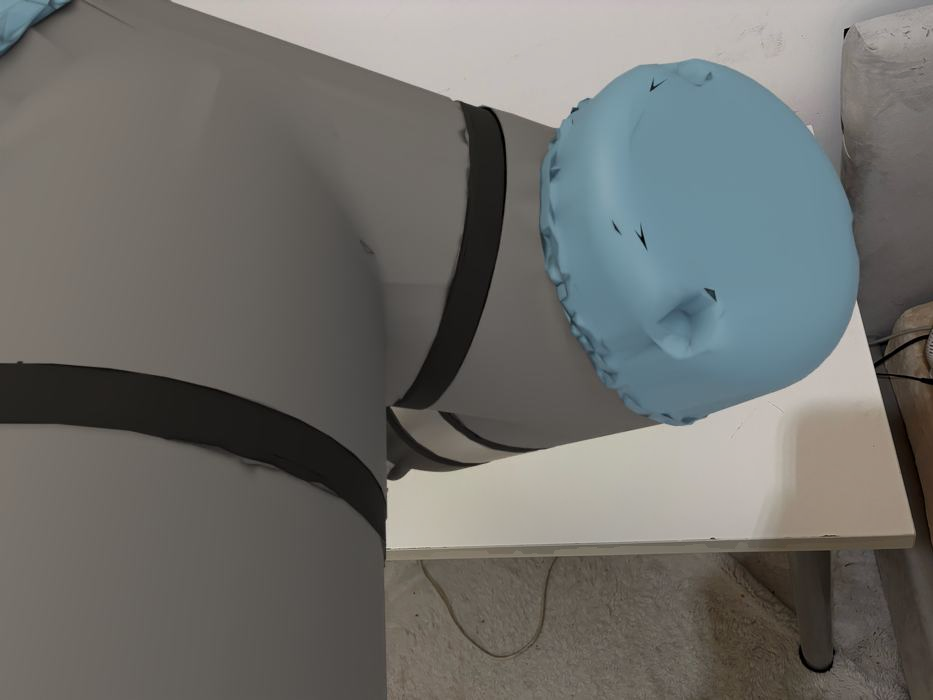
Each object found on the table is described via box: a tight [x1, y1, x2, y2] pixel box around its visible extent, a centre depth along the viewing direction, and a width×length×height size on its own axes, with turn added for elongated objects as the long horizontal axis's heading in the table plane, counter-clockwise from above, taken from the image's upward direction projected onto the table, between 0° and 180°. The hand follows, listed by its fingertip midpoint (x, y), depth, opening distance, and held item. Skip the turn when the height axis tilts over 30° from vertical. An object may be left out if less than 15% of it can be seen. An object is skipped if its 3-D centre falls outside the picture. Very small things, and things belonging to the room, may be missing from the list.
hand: (349, 443), depth 47 cm, fingers closed
